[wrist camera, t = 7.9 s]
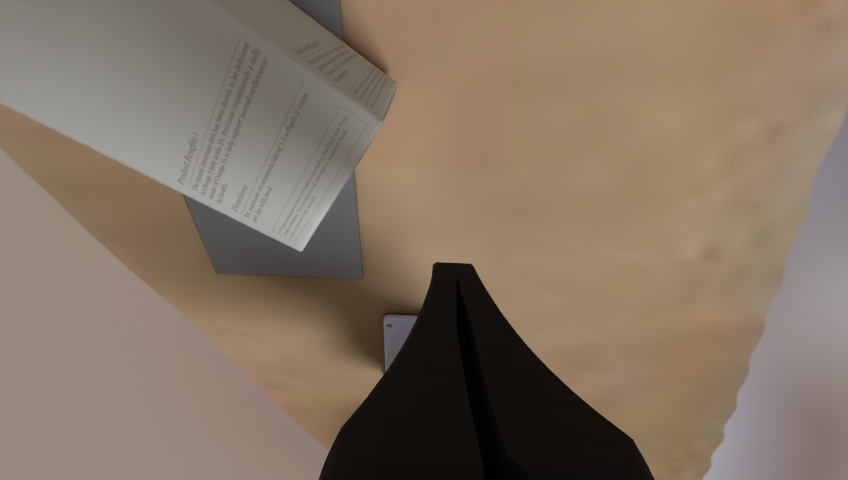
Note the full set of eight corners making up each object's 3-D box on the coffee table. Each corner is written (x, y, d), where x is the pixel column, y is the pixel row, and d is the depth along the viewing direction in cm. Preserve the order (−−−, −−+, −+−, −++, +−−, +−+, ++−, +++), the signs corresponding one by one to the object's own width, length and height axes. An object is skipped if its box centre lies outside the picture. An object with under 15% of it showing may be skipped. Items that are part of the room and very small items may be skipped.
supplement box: (401, 81, 17) (133, -129, 13) (388, 124, 11) (-126, -244, 7) (336, 184, 21) (108, 47, 16) (298, 259, 15) (-77, 73, 10)
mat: (363, 275, 25) (362, 279, 25) (219, 269, 25) (216, 273, 25) (338, -22, 15) (336, -22, 15) (94, -35, 15) (86, -36, 14)
